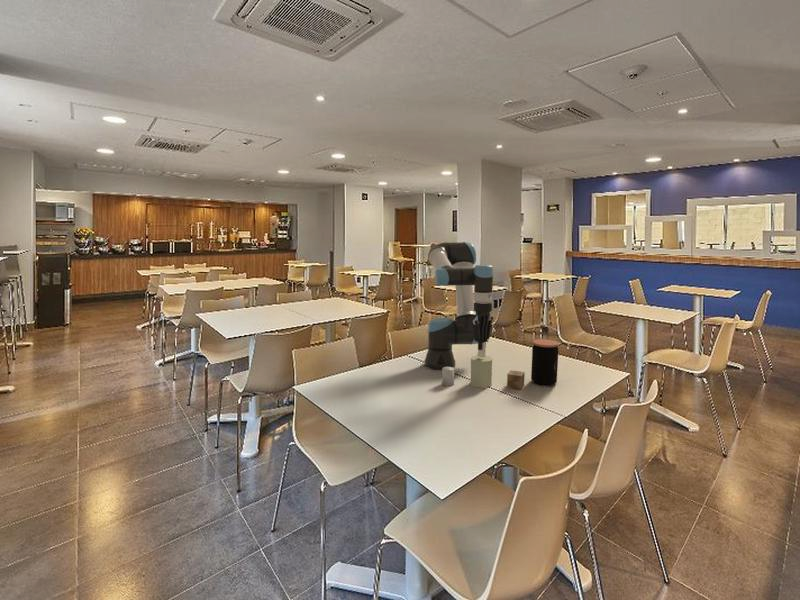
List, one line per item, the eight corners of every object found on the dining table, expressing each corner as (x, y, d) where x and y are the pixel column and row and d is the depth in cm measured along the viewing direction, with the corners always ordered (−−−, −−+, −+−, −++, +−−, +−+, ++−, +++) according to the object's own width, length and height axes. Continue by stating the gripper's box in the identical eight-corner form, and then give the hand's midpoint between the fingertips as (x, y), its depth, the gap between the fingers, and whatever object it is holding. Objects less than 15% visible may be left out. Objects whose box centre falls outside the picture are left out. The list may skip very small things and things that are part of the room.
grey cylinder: (439, 384, 186) (439, 368, 185) (447, 381, 189) (447, 366, 188) (448, 387, 182) (449, 371, 181) (456, 384, 186) (456, 368, 185)
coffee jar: (558, 387, 181) (560, 345, 178) (532, 385, 183) (533, 344, 180) (554, 379, 191) (556, 339, 189) (529, 377, 194) (531, 338, 191)
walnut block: (506, 387, 181) (507, 374, 180) (509, 383, 187) (510, 370, 186) (521, 390, 179) (522, 376, 178) (524, 385, 184) (524, 371, 183)
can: (465, 384, 185) (466, 357, 184) (477, 379, 192) (478, 353, 190) (484, 389, 179) (485, 361, 177) (495, 383, 186) (496, 357, 184)
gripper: (481, 304, 173) (479, 361, 177) (499, 301, 182) (497, 355, 186) (466, 302, 178) (465, 358, 182) (484, 299, 187) (483, 352, 191)
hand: (481, 356), depth 184 cm, fingers closed
